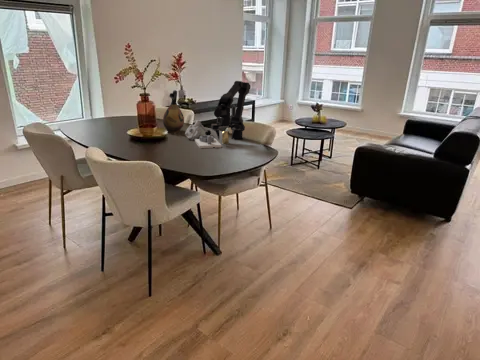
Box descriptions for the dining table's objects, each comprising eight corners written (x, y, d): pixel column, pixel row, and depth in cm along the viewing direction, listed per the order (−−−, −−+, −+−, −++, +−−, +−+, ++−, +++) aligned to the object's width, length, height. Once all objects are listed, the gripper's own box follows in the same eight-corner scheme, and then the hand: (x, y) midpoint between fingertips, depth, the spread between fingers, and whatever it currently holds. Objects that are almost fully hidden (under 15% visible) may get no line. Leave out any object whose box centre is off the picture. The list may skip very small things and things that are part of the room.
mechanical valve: (182, 134, 236) (193, 116, 238) (195, 147, 250) (205, 130, 253) (192, 138, 230) (203, 120, 233) (205, 151, 245) (216, 133, 247)
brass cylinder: (227, 142, 232) (228, 130, 229) (229, 144, 227) (229, 132, 225) (221, 142, 230) (221, 131, 227) (222, 144, 226) (223, 132, 223)
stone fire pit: (215, 140, 235) (215, 131, 233) (221, 147, 219) (221, 137, 217) (194, 141, 231) (194, 131, 229) (199, 148, 215) (199, 138, 213)
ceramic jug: (182, 134, 249) (181, 92, 239) (161, 133, 249) (159, 91, 239) (186, 129, 265) (185, 89, 255) (166, 128, 265) (164, 88, 255)
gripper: (236, 113, 232) (235, 135, 238) (209, 113, 227) (209, 136, 232) (241, 116, 222) (240, 139, 228) (212, 116, 217) (212, 140, 222)
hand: (225, 139), depth 228 cm, fingers open, 9 cm apart
